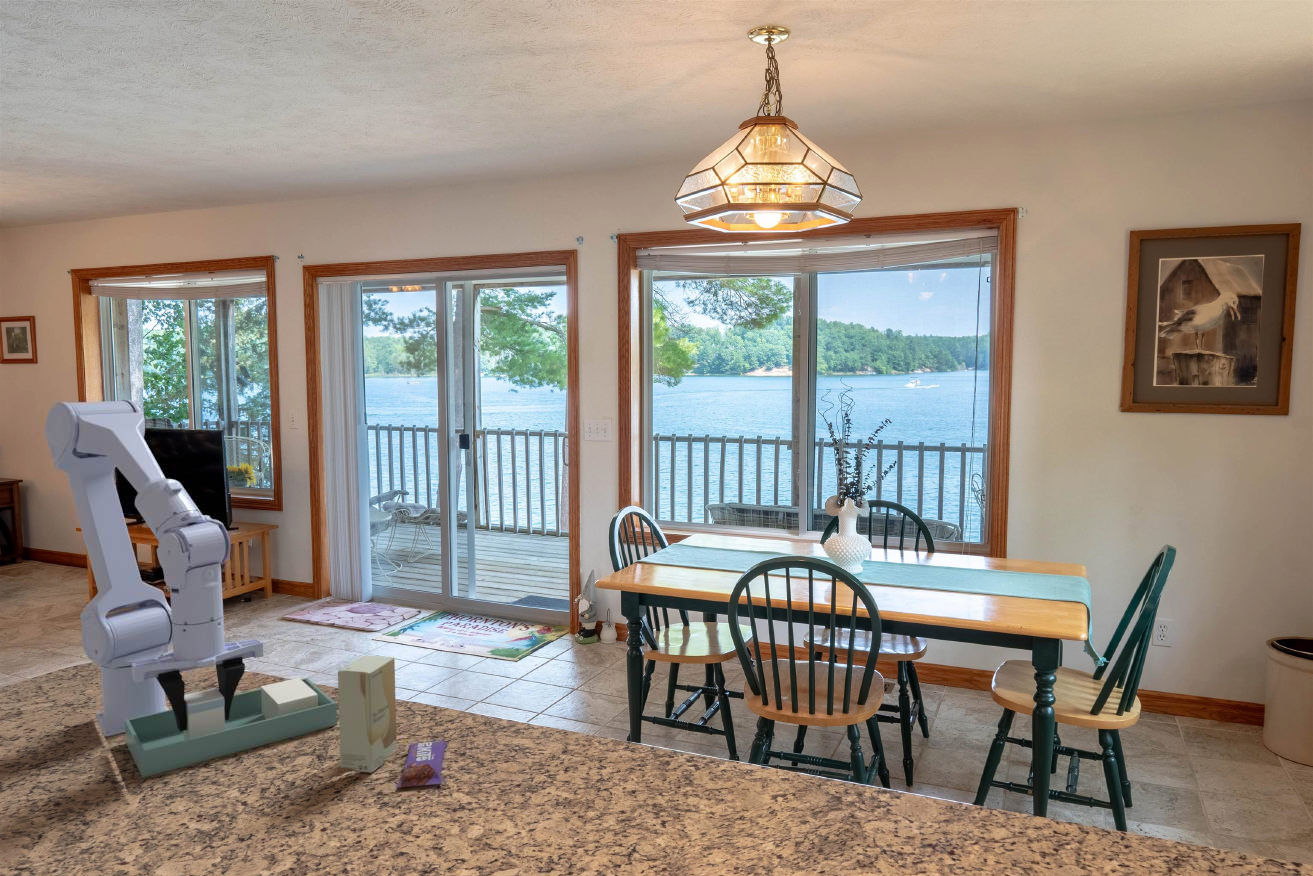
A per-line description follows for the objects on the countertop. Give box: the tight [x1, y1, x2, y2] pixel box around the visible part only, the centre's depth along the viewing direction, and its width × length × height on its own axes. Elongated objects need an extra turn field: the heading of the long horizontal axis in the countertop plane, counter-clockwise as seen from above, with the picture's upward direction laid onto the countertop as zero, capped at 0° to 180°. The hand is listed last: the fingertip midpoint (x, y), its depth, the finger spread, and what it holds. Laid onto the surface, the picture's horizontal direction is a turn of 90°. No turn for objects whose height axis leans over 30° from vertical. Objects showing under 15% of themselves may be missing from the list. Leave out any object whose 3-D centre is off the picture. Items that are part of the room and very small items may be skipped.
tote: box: [125, 677, 338, 779], centre depth 110 cm, size 12×22×4 cm, turn 130°
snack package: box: [396, 740, 449, 788], centre depth 102 cm, size 12×2×5 cm
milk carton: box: [184, 687, 225, 740], centre depth 107 cm, size 4×4×6 cm
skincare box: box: [337, 655, 398, 773], centre depth 103 cm, size 6×4×12 cm
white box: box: [260, 677, 318, 719], centre depth 114 cm, size 8×5×4 cm, turn 40°
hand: (203, 723), depth 108 cm, fingers open, 4 cm apart
